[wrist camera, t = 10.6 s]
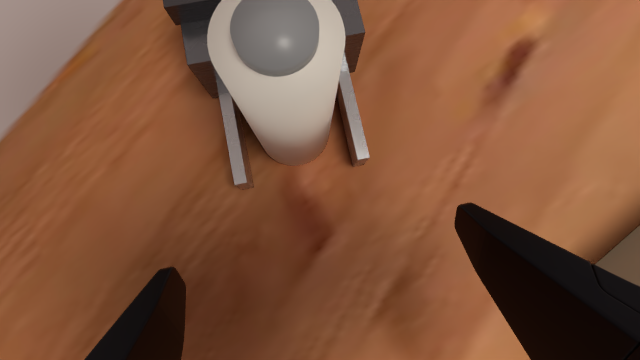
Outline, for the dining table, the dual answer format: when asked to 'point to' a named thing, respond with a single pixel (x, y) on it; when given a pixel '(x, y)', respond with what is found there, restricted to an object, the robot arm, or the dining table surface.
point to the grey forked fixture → (194, 17)
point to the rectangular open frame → (624, 258)
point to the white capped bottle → (281, 70)
